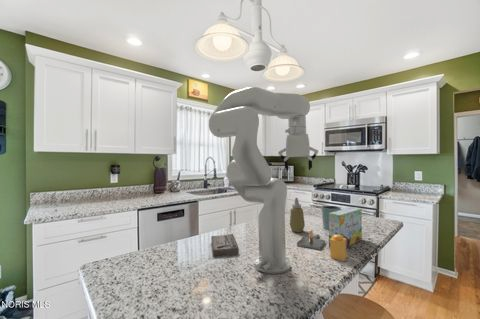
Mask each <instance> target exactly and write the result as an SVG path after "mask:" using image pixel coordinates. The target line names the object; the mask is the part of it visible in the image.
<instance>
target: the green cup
mask: <svg viewBox="0 0 480 319" xmlns="http://www.w3.org/2000/svg"><path fill="white" fill-rule="evenodd" d="M339 210H342V207H340V206H336V205H322V206H321V217H322V226H323V229H324V230H327V231H329V213H332V212H335V211H339Z"/></svg>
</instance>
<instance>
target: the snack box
mask: <svg viewBox="0 0 480 319" xmlns="http://www.w3.org/2000/svg"><path fill="white" fill-rule="evenodd" d="M362 218H363V217H362V208H359V207H351V206H350V207H346V208H343V209H341V210H339V211H335V212H332V213H329V230H328V248H330V239H331V238H332V236H333V235H336V234H337V235H342V236H343V238H346V248H348V247H349V246H351V245H353V244H355V243H358V242H360V241H362V240H363V239H362V238H363V236H362V234H363V232H362V230H363V229H362Z"/></svg>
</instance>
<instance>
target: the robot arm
mask: <svg viewBox="0 0 480 319" xmlns="http://www.w3.org/2000/svg"><path fill="white" fill-rule="evenodd" d="M310 109H311V104H310V102H309V100H308V98H307V97H305V96H304V95H302V94H299V93H286V92H285V93H283V92H273V91H270V90H266V89H263V88H261V87H257V86H250V87H245V88H242V89H237V90H234V91H232V92H230V93H229V94H228V95H227V96H225V98H223V100H222V101H221V102H220V104H219V105H218V106H217V107H216V108H215V110H214V111H213V112H212V113H211V115H210V116H209V120H208V130H209V131H210V133H211V134H212V135H213V136H214V137H216V138H221V139H222V138H231V137H235V138H234V143H233V146H232V150H231V156H232V160H231V161H230V162H229V163H228V165H227V168H226V177H227V180H228V182H229V183H230V185H231V187H232V188H233V189H234V190H235V191H236V192H237V194H238V195H239V196H240V197H241V198H242V199H243V201H245V202H248V203H253V204H261V205H263V206H262V208H261V209H260V211H259V213H258V215H257V216H258V218H257V222H258V258H257V259H255V261H254V269H255V270H257V271H259V272H263V273H266V274H271V275H277V274H283V273H286V272H288V271H289V270H290V269H291V263H290V261H289V260H288V259H286V258H287V257H286V256H287V255H286V250H287V249H286V218H285V216H286V215H285V214H286V203H287V196H288V186H287V184H286V182H284V181H283V180H282V179H279V178H277V177H273V172H272V170H271V167H270V166H269V164H268V162H267V160H266V159H265V157H264V156H263V153H262V152H261V151H260V149H259V147H258V131H259V125H260V119H259V118H260V117H259V115H262V116H268V117H277V118H278V119H281V120H288V121H287V124H288V127H287V129H285V132H284V133H286V134H287V135H286V139H285V141H286V142H285V148H283V149H281V150H279V151H278V156H279V157H280V159H282V161H283V162H284V169H285V170H286V171H289V168H290V167H289V159H290V158H300V157H303V158H305V157H307V160H308V170H309V171H310V170H311V169H313V160H314V159H315V158H316V157H317V156H318V153H319V150H318V149H316V148H313V147H311V146H310V137H309V134H308V133H307V123H306V122H307V121H306V117H307V115H308V114H309V113H310V111H311V110H310ZM310 152H314V153H313V154H312V156H310ZM283 153H285V155H286V156H284V154H283Z"/></svg>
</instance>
